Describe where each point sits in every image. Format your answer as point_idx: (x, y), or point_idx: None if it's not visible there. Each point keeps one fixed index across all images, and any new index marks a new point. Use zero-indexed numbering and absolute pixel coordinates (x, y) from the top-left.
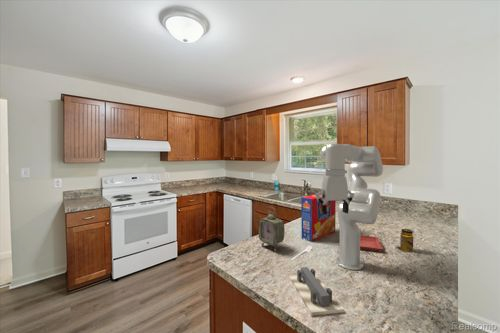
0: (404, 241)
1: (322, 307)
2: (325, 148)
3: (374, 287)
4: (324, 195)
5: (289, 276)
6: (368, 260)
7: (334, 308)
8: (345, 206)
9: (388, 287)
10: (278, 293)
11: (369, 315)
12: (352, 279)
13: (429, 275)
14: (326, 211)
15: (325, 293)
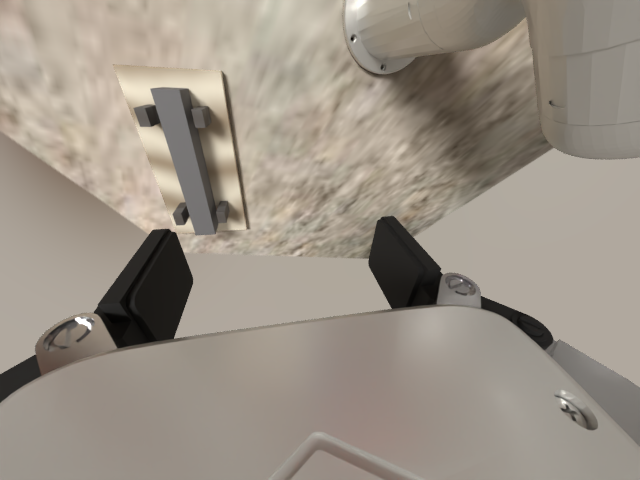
0: None
1: None
2: None
3: (356, 165)
4: (63, 461)
5: (116, 68)
6: None
7: (227, 227)
8: (393, 292)
9: (385, 169)
10: (88, 153)
11: (287, 234)
12: (330, 123)
13: (511, 141)
14: (184, 300)
15: (207, 227)
